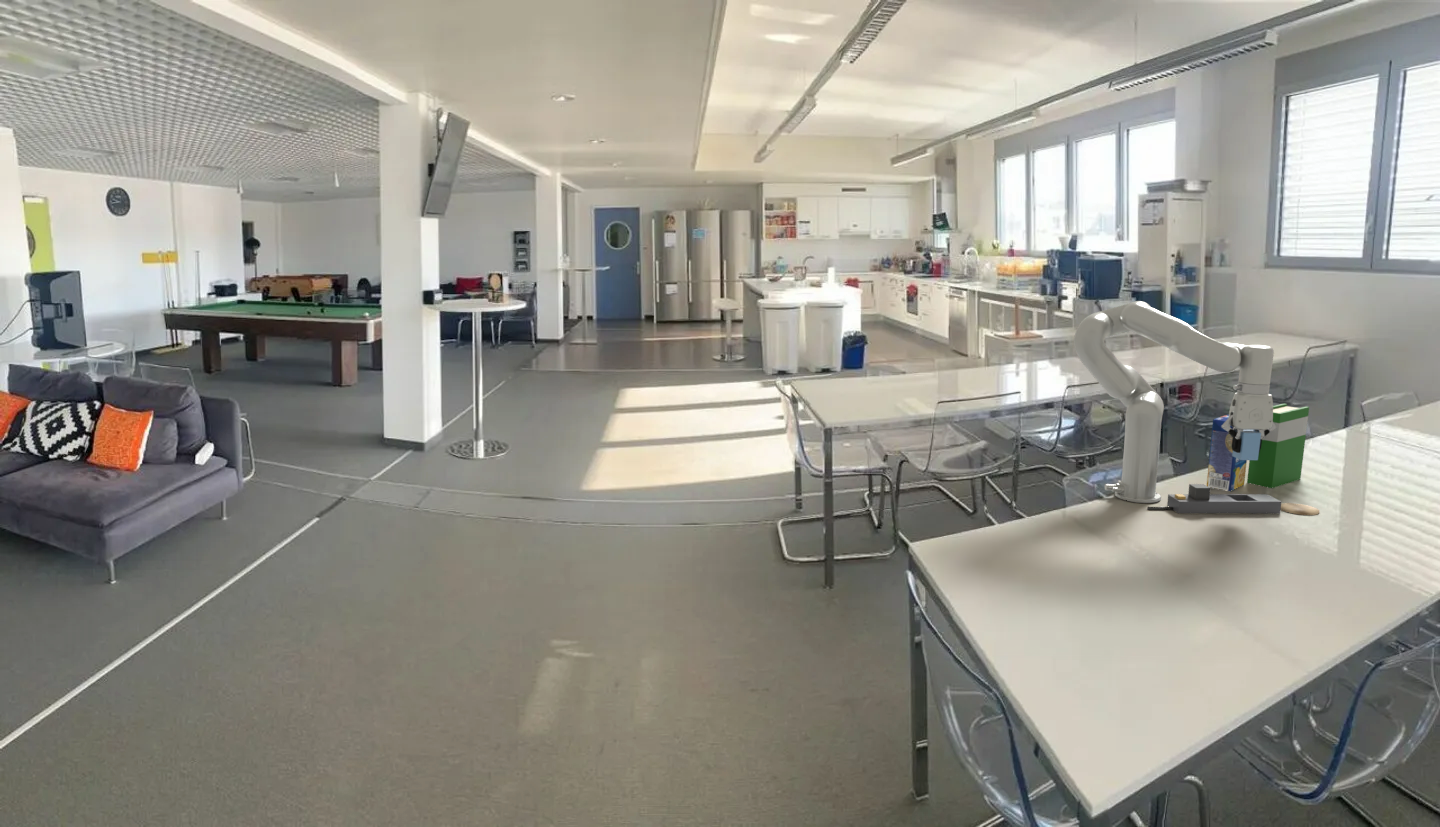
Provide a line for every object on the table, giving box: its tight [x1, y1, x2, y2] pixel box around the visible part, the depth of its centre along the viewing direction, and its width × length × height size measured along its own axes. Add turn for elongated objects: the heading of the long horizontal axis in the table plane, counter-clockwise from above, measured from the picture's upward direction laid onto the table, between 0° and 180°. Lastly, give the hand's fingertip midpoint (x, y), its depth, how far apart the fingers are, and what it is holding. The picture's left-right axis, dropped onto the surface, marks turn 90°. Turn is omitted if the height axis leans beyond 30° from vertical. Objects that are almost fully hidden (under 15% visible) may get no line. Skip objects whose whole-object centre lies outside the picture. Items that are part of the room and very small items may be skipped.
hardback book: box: [1246, 403, 1310, 489], centre depth 263 cm, size 18×7×24 cm, turn 120°
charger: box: [1232, 430, 1261, 461], centre depth 234 cm, size 5×5×8 cm
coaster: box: [1280, 502, 1321, 516], centre depth 237 cm, size 10×10×1 cm
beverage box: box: [1206, 414, 1248, 492], centre depth 259 cm, size 7×11×22 cm, turn 128°
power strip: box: [1146, 483, 1282, 515], centre depth 238 cm, size 35×7×7 cm, turn 86°
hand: (1245, 451), depth 235 cm, fingers closed on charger, 4 cm apart
